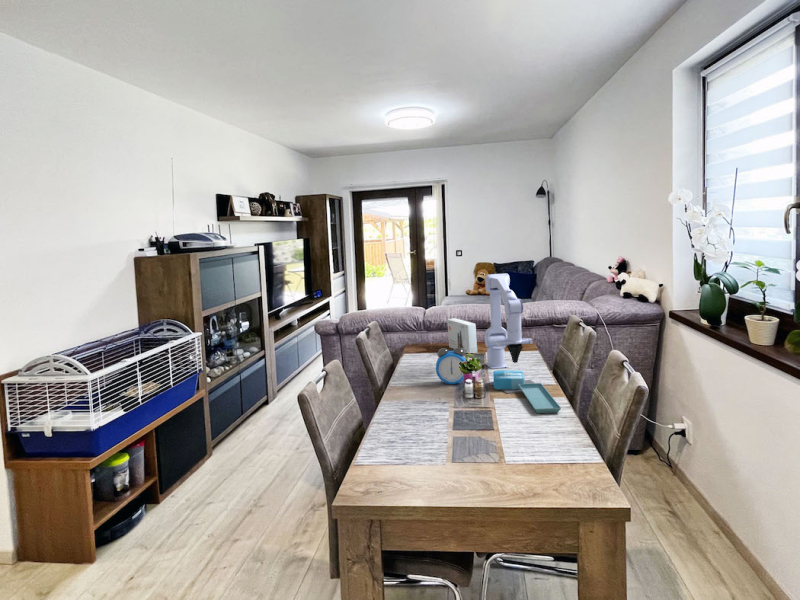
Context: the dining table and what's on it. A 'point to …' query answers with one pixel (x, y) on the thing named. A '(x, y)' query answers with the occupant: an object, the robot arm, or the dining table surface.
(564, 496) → the dining table surface
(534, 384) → the teal serving tray
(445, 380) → the alarm clock
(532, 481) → the dining table surface
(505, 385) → the data package
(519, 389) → the mat
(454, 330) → the skincare box
